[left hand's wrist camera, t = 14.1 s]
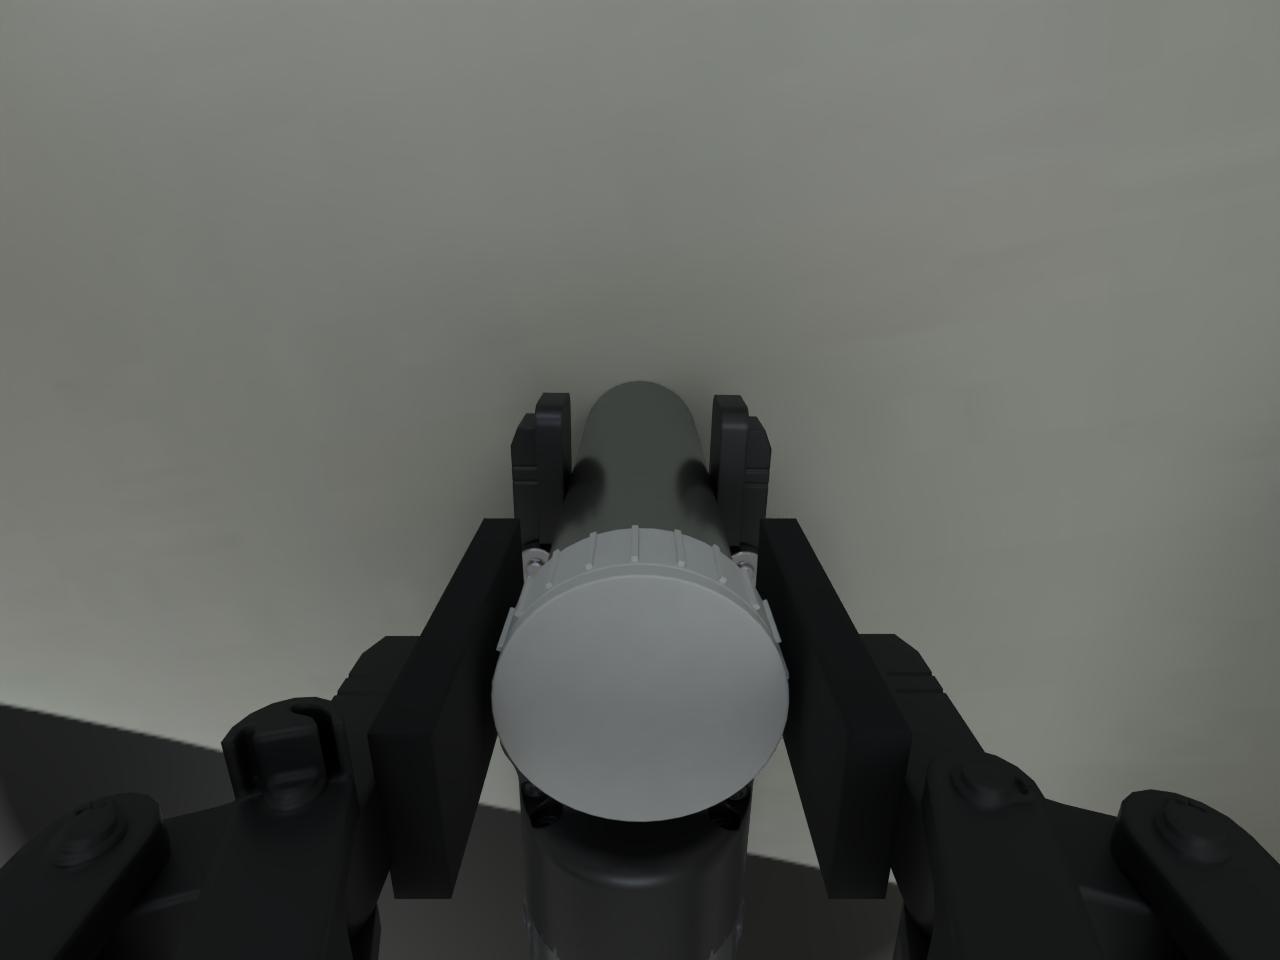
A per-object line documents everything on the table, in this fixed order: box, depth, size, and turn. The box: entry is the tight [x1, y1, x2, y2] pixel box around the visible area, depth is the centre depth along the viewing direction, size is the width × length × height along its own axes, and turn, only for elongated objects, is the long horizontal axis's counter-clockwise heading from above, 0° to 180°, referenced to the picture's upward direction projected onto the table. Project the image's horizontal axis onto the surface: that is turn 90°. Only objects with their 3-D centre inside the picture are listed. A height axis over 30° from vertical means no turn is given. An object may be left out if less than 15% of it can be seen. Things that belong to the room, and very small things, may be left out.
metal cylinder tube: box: [547, 381, 733, 562], centre depth 18 cm, size 4×4×15 cm
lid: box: [491, 525, 789, 822], centre depth 11 cm, size 5×5×2 cm
